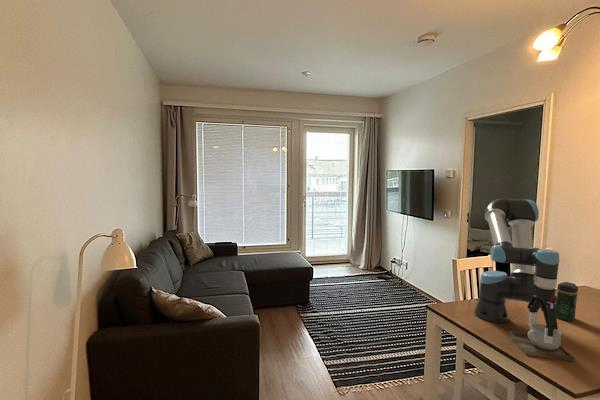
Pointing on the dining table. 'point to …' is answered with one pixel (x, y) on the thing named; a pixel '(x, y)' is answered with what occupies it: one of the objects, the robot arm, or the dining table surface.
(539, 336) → the teacup
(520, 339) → the shallow tray
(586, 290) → the dining table surface
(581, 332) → the dining table surface
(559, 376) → the dining table surface
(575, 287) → the coffee jar
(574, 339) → the dining table surface
